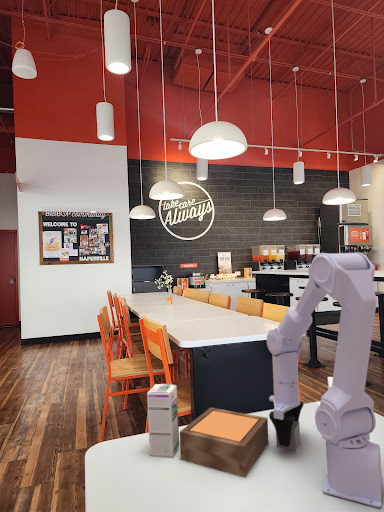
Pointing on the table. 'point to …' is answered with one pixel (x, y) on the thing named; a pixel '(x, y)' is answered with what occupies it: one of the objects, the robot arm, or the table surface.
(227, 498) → the table surface
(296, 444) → the gray block
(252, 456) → the wooden box
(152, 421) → the syrup box
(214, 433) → the orange flap
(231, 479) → the table surface
